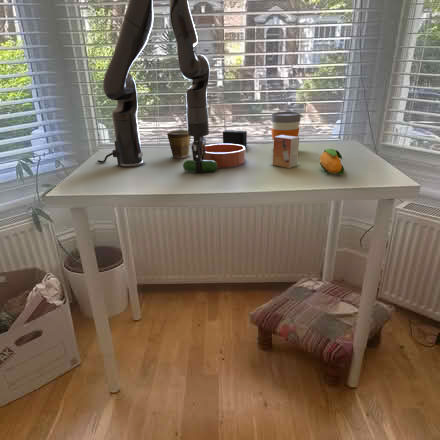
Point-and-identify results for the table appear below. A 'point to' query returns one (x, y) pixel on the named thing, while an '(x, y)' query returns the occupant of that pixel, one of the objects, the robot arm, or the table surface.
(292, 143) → the small box
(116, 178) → the table surface
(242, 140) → the digital camera
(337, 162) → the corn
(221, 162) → the bowl
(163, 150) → the table surface
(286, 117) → the reusable coffee cup
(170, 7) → the robot arm
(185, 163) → the cucumber
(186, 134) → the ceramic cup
